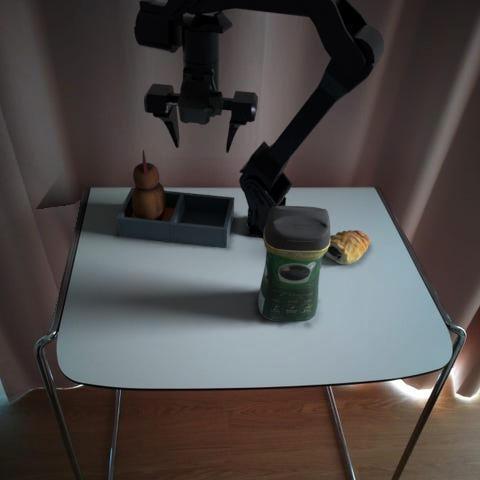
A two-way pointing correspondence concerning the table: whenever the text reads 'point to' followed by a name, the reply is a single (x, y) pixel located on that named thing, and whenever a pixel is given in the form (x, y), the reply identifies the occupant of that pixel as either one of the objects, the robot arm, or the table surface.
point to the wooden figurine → (148, 192)
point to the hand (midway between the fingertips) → (202, 149)
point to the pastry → (347, 246)
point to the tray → (182, 220)
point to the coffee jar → (293, 262)
